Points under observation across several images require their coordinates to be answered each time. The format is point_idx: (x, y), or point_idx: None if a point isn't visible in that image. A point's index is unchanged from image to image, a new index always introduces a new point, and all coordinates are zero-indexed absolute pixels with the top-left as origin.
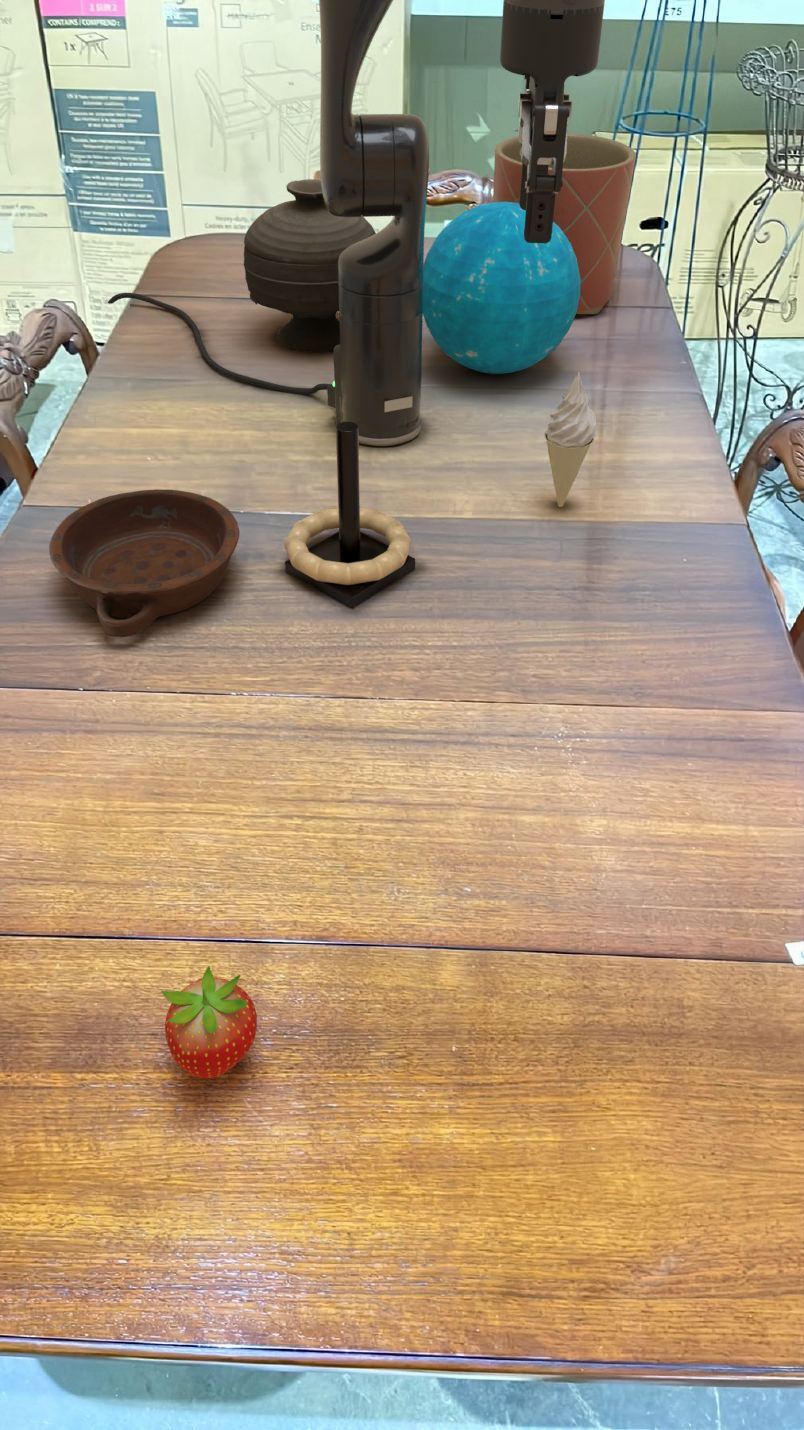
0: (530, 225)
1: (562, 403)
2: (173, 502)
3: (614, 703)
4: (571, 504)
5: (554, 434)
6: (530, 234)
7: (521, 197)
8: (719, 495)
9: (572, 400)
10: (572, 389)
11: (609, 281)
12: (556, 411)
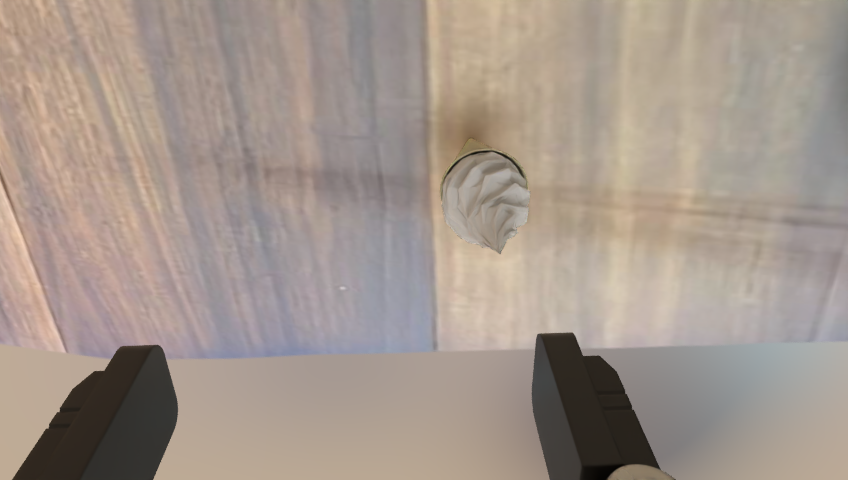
0: (81, 401)
1: (491, 200)
2: None
3: (8, 184)
4: None
5: (459, 169)
6: (82, 381)
7: (549, 359)
8: (507, 342)
9: (471, 222)
10: (485, 228)
11: None
12: (485, 184)
